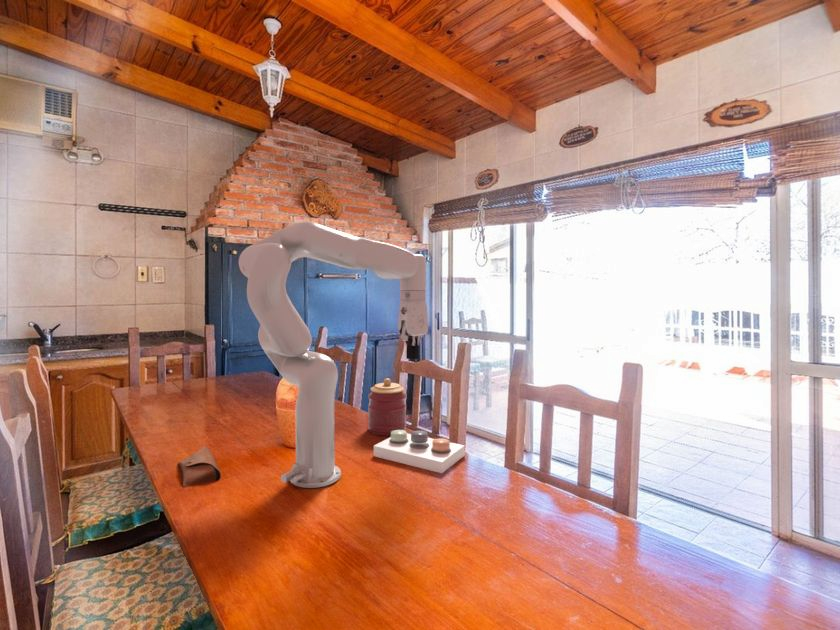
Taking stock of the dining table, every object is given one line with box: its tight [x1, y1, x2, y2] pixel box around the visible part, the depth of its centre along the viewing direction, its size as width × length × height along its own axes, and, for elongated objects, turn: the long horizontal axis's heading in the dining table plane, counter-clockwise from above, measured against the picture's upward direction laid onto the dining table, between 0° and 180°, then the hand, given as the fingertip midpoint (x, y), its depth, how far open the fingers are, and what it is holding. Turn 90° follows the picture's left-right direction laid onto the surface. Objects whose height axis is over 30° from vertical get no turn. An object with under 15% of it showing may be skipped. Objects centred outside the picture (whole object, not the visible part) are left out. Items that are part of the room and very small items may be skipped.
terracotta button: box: [432, 437, 451, 452], centre depth 120 cm, size 5×5×2 cm
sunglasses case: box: [177, 445, 222, 488], centre depth 113 cm, size 18×7×7 cm, turn 35°
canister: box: [367, 377, 407, 437], centre depth 146 cm, size 13×13×18 cm
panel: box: [373, 433, 466, 474], centre depth 124 cm, size 14×22×3 cm, turn 59°
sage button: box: [390, 430, 408, 442], centre depth 127 cm, size 5×5×2 cm
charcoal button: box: [410, 430, 429, 443], centre depth 124 cm, size 5×5×2 cm
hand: (412, 358), depth 128 cm, fingers closed
